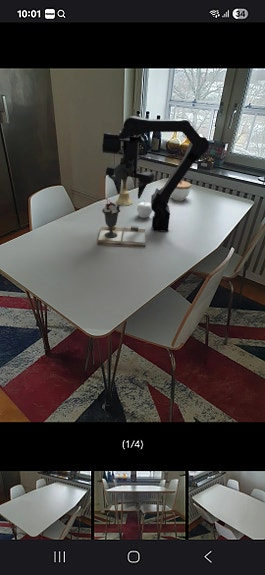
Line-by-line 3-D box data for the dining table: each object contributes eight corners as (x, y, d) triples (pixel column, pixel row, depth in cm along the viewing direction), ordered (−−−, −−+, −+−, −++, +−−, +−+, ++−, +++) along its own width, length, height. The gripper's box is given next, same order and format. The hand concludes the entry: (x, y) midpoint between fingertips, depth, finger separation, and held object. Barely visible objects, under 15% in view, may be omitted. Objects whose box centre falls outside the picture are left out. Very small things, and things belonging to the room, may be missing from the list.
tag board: (145, 231, 130) (145, 226, 129) (145, 247, 119) (145, 241, 117) (101, 228, 130) (101, 223, 129) (97, 244, 119) (97, 239, 117)
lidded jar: (164, 196, 167) (166, 178, 162) (180, 194, 171) (183, 176, 166) (175, 203, 159) (178, 184, 154) (192, 200, 164) (195, 182, 158)
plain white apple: (133, 215, 143) (134, 198, 139) (145, 212, 147) (146, 195, 143) (143, 220, 139) (144, 203, 134) (155, 217, 143) (156, 200, 138)
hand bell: (112, 203, 155) (112, 169, 146) (121, 198, 161) (122, 166, 152) (127, 207, 152) (128, 173, 143) (135, 202, 158) (137, 169, 149)
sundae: (99, 236, 121) (98, 198, 113) (107, 230, 126) (107, 193, 118) (114, 240, 119) (115, 202, 110) (122, 234, 124) (123, 196, 116)
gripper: (97, 154, 114) (97, 196, 123) (142, 163, 108) (139, 207, 116) (113, 149, 123) (112, 189, 132) (156, 157, 116) (153, 198, 125)
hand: (128, 196), depth 126 cm, fingers open, 9 cm apart
